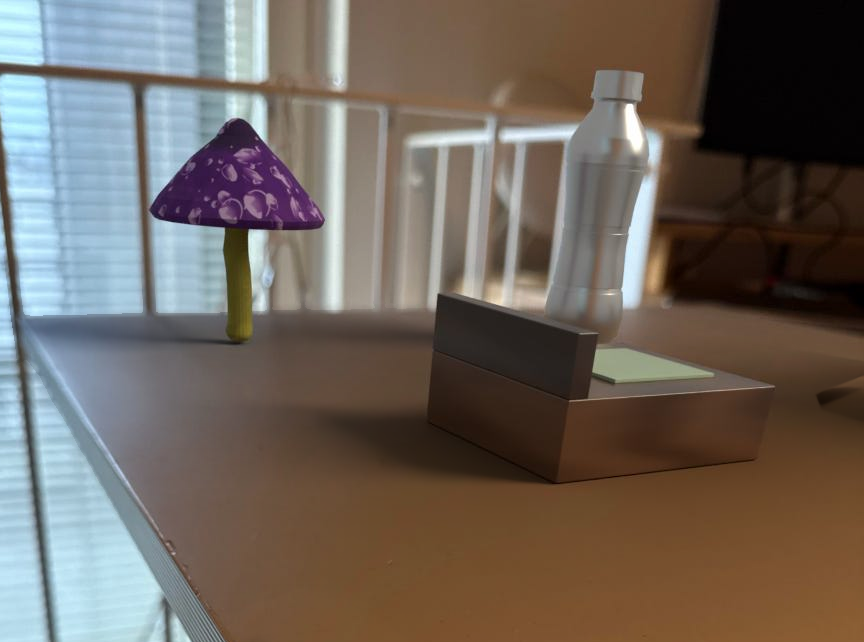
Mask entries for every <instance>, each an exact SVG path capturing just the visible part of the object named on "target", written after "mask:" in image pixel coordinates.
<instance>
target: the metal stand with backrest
mask: <svg viewBox="0 0 864 642" xmlns="http://www.w3.org/2000/svg"><path fill="white" fill-rule="evenodd" d="M597 340H598V333H597V332H594V331H590V330H587V329H583V328H579V327H576V326H572V325H569V324H565V323H561V322H558V321H554V320H551V319H547V318H544V316H539V315H535V314H532V313H529V312H525V311H521V310H518V309H515V308H511V307H507V306H503V305H500V304H496V303H493V302H489V301H486V300H482V299H479V298H476V297H475V298H474V297H471V296H467V295H463V294H460V293H456V292H438V293H437V295H436V305H435V316H434V328H433V340H432V351H431V352H432V354H431V363H430V364H431V365H430V376H429V386H428V387H429V389H428V398H427V410H426V422H429V423H430V424H432V425H434V426H435V427H438V428H441V429H443V430H445V431H446V432H449V433H451V434H453V435H455V436H457V437H459V438H461V439H463V440H465V441H468V442H469V443H472V444H474V445H476V446H478V447H480V448H481V449H484V450H486V451H488V452H491V453H492V454H495V455H497V456H498V457H501V458H503V459H505V460H507V461H509V462H511V463H513V464H515V465H516V466H519V467H521V468H523V469H525V470H527V471H529V472H532V473H534V474H536V475H538V476H540V477H541V478H544V479H545V480H548V481H550V482H552V483H553V484H561V483H569V482H579V481H587V480H594V479H595V480H597V479H603V478H604V479H605V478H612V477H619V476H628V475H629V476H631V475H637V474H645V473H654V472H662V471H663V472H664V471H667V470H668V471H670V470H679V469H687V468H694V467H695V468H696V467H703V466H712V465H720V464H729V463H736V462H737V463H738V462H744V461H745V462H746V461H754V460H757V459H758V458H759V453H760V449H761V445H762V441H763V437H764V433H765V429H766V425H767V421H768V417H769V413H770V409H771V406H772V401H773V398H774V393H775V389H776V386H775V385H773V384H769V383H766V382H762V381H759V380H755V379H752V378H748V377H744V376H742V375H737V374H734V373H730V372H727V371H724V370H720V369H716V368H713V367H708V366H706V365H702V364H698V363H696V362H691V361H688V360H685V359H681V358H677V357H674V356H670V355H667V354H663V353H659V352H656V351H652V350H648V349H645V348H642V347H638V346H635V345H631V344H627V343H623V342H613V343H612V342H611V343H610V344H597Z"/></svg>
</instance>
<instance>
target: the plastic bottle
mask: <svg viewBox="0 0 864 642" xmlns="http://www.w3.org/2000/svg"><path fill="white" fill-rule="evenodd" d="M644 74H645V73H643V72H639V71H633V70H632V71H631V70H621V69H620V70H618V69H601V70H596V72H595V75H594V83H593V88H592V89H593V90H592V91H591V93H590V99H592V100H594V102H593V105H592V108H591V109H590V111H589V112H588V113H587V114H586V116H585V117H584V118H583V120H581V122H580V123H579V125H578V127H577V128H576V129H575V131H574V132H573V133H572V135H571V137H570V140H569V143H568V145H567V148H566V156H565V161H566V165H565V197H564V198H565V201H564V211H563V227H562V232H561V233H562V234H561V242H560V245H559V246H560V247H559V252H558V255H557V261H556V266H555V270H554V274H553V279H552V281H553V283H552V284H551V285H550V288H549V291H548V294H547V297H546V300H545V305H544V310H543V318H547V319H551V320H554V321H558V322H561V323H565V324H569V325H572V326H576V327H579V328H583V329H587V330H590V331H594V332H597V333H598V340H597V344H610V343H612V342H613V341H614V339H615V338H616V337H617V336H618V333H619V330H620V326H621V323H622V320H623V307H624V295H623V294H624V293H623V291H622V288H623V286H624V285H623V284H624V274H625V265H626V264H625V262H626V252H627V244H628V240H629V236H630V235H629V234H630V233H629V230H630V228H631V226H632V221H633V217H634V211H635V207H636V204H637V201H638V197H639V193H640V191H641V187H642V183H643V180H644V177H645V174H646V171H645V170H646V168H647V167H648V162H649V158H650V145H649V144H650V143H649V139H648V136H647V133H646V131H645V127H644V125H643V123H642V120H641V118H640V116H639V114H638V111H637V104H638V103H640V102H642V98H643V94H642V91H643V90H642V89H643V84H644V78H645V77H644V76H645V75H644Z"/></svg>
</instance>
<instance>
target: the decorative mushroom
mask: <svg viewBox="0 0 864 642" xmlns="http://www.w3.org/2000/svg"><path fill="white" fill-rule="evenodd" d="M148 211H149V212H150V215H152V216H153V217H154V219H156V220H158V221H163V222H169V223H175V224H180V225H189V226H201V227H209V228H221V229H224V235H223V236H224V237H223V244H222V245H223V246H222V254H223V261H224V268H225V279H226V293H227V294H226V298H227V299H226V300H227V324H226V328H225V334H226V336H227V337H228V338H229V339H230V341H234V342H236V343H238V344H240V343H243V342H247V341H249V340H250V339H251V337H252V336H253V284H252V268H251V263H250V262H251V261H250V253H249V251H250V250H249V232H250V230H254V231H255V230H256V231H257V230H259V231H312V230H318V229H321V228H322V227H323V226H324V224H325V221H326V219H325V216H324V214H323V213H322V211H321V209H320V208H319V206H318V204H317V203H316V202H315V201H314V199H312V197H311V196H310V195H309V194H308V193H307V192H306V190H305V189H304V187H303V186H302V184H301V183H300V182H299V181H298V180H297V177H295V176H294V175H293V173H292V171H291V170H290V169H289V167H287V165H286V164H285V163H284V162H283V161H282V160H281V159H280V158H279V157H278V156H277V155H276V154H275V153H274V152H273V150H272V149H271V148H270V147H269V145H268V144H267V143H266V142H265V141H264V140H263V139H262V138H261V136H260V135H259V134H258V132H257V131H256V130H255V128H254V127H253V126H252V125H251V124H250V123H249V122H248V121H247V120H245V119H244V118H241V117H233V118H230V119H229V120H228V121H226V122H225V123H224V124H223V125H221V127H220V128H219V130H218V132H217V134H216V135H215V136H214V138H212V139H211V140H210V141H209V142H207V143H206V144H204V145H203V146H202V147H201V148H199V150H198V151H196V152H195V153H194V154H193V155H191V156H190V157H189V159H188V160H187V161H185V163H184V164H183V165H182V166H181V167H180V169H179V170H178V171H177V172H176V173H175V174H174V175H173V176H172V178H171V179H170V180H169V181H168V183H166V185H165V186H164V187H163V189H161V190H160V192H159V193H158V194H157V196H156V197H155V199H154V200H153V202H152V204H151V205H150V206H149V208H148Z"/></svg>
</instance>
